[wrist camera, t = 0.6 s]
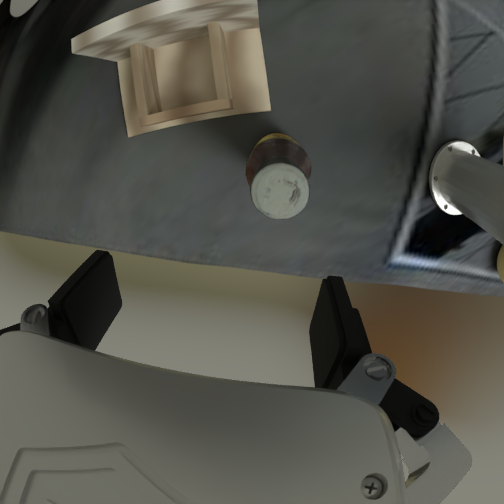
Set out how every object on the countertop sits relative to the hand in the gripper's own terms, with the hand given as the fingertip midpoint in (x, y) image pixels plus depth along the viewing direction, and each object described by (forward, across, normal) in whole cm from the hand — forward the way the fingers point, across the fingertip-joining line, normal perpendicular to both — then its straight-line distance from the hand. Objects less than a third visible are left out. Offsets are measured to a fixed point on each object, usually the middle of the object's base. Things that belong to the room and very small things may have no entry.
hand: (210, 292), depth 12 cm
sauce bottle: (+29, -3, -2) cm, 29 cm away
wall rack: (+28, +10, -12) cm, 32 cm away
